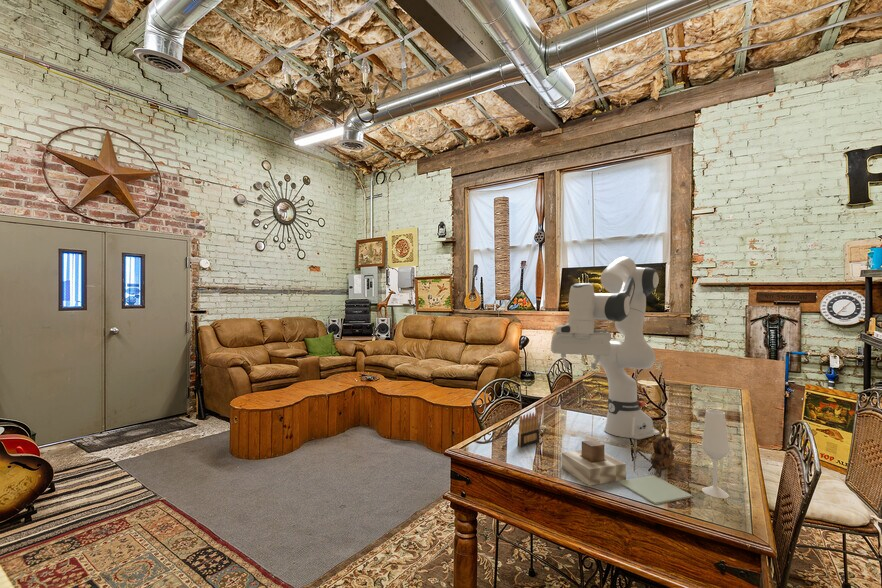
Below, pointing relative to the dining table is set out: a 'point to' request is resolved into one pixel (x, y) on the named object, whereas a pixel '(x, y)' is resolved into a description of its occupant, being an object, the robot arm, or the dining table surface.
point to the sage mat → (654, 489)
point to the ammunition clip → (528, 430)
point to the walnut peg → (593, 451)
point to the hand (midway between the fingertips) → (580, 367)
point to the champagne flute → (715, 447)
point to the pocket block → (594, 468)
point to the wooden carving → (662, 452)
